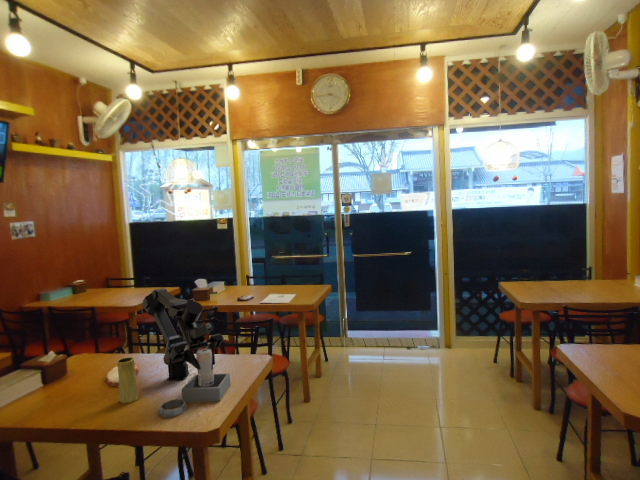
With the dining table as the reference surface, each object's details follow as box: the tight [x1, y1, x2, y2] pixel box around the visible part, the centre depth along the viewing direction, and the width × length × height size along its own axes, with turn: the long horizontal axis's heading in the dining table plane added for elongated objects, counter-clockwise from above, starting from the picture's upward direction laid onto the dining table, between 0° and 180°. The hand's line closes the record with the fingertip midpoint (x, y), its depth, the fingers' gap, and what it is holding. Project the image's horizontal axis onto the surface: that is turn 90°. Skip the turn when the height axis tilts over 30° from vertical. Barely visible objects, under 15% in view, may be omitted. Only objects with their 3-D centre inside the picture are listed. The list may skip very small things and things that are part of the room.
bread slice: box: [105, 362, 140, 387], centre depth 172 cm, size 18×18×4 cm
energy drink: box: [195, 348, 215, 387], centre depth 150 cm, size 5×5×12 cm
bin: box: [180, 372, 232, 403], centre depth 151 cm, size 13×13×4 cm
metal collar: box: [158, 398, 188, 418], centre depth 138 cm, size 8×8×2 cm
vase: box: [116, 356, 140, 404], centre depth 149 cm, size 6×6×14 cm
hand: (206, 366), depth 149 cm, fingers closed on energy drink, 5 cm apart
